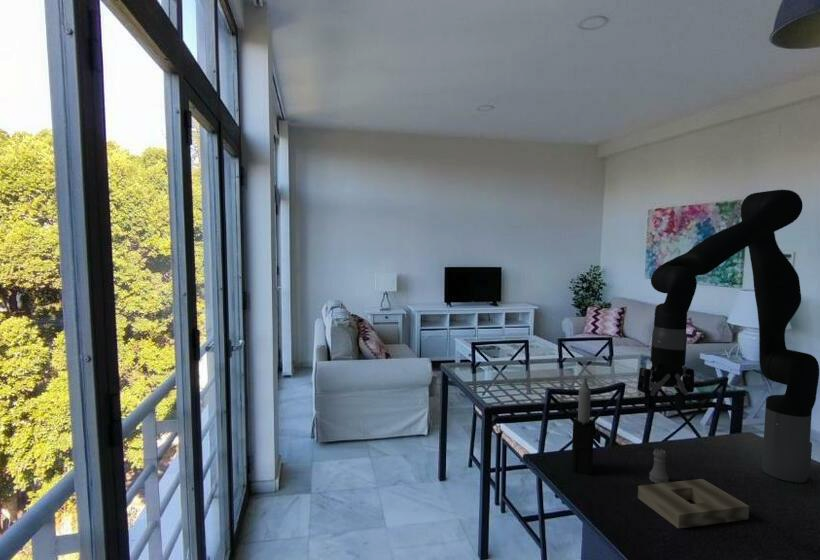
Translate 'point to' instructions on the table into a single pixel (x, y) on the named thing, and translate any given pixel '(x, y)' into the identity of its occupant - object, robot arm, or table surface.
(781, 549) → the table surface
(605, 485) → the table surface
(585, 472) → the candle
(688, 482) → the socket board
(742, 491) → the table surface
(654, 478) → the rook chess piece
